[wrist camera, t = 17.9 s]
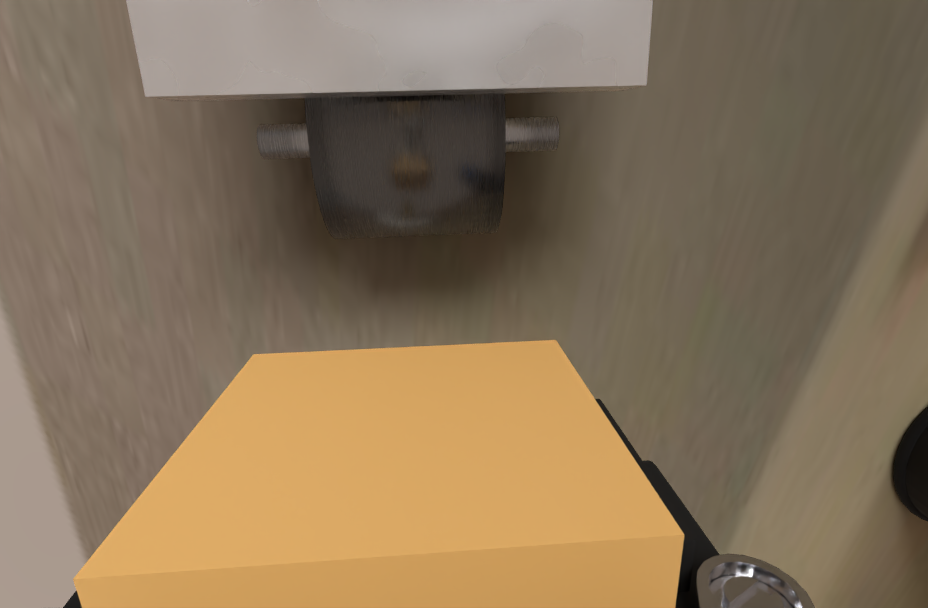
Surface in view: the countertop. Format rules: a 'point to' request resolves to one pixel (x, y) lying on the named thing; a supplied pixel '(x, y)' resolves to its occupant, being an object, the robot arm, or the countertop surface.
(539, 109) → the countertop surface
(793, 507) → the countertop surface
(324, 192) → the white stand
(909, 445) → the aerosol can
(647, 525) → the orange cube
